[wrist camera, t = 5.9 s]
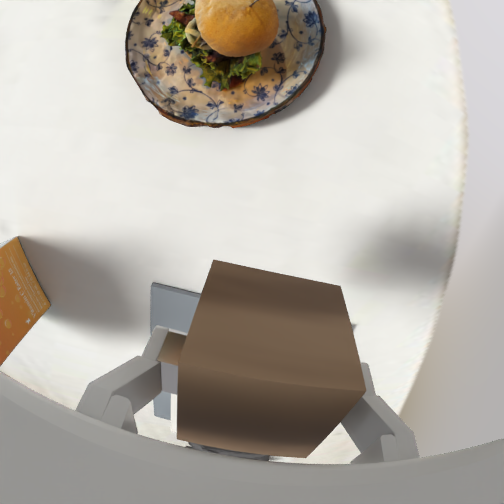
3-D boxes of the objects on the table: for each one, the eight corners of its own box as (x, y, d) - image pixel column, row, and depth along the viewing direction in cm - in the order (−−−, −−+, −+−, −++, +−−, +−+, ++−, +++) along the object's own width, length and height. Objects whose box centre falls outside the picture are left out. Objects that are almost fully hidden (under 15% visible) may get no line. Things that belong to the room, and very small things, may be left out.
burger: (170, -44, 12) (126, -93, 5) (344, -8, 12) (379, -60, 6) (116, 107, 17) (44, 116, 10) (286, 153, 18) (293, 180, 11)
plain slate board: (153, 282, 23) (151, 286, 22) (350, 324, 23) (351, 328, 23) (155, 412, 32) (154, 415, 31) (282, 437, 32) (282, 440, 32)
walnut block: (213, 259, 11) (178, 361, 7) (340, 286, 11) (366, 390, 7) (200, 347, 14) (176, 439, 9) (302, 366, 14) (305, 457, 9)
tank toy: (186, 448, 37) (179, 476, 32) (178, 419, 33) (169, 453, 28) (265, 458, 37) (263, 488, 32) (274, 431, 32) (272, 467, 28)
